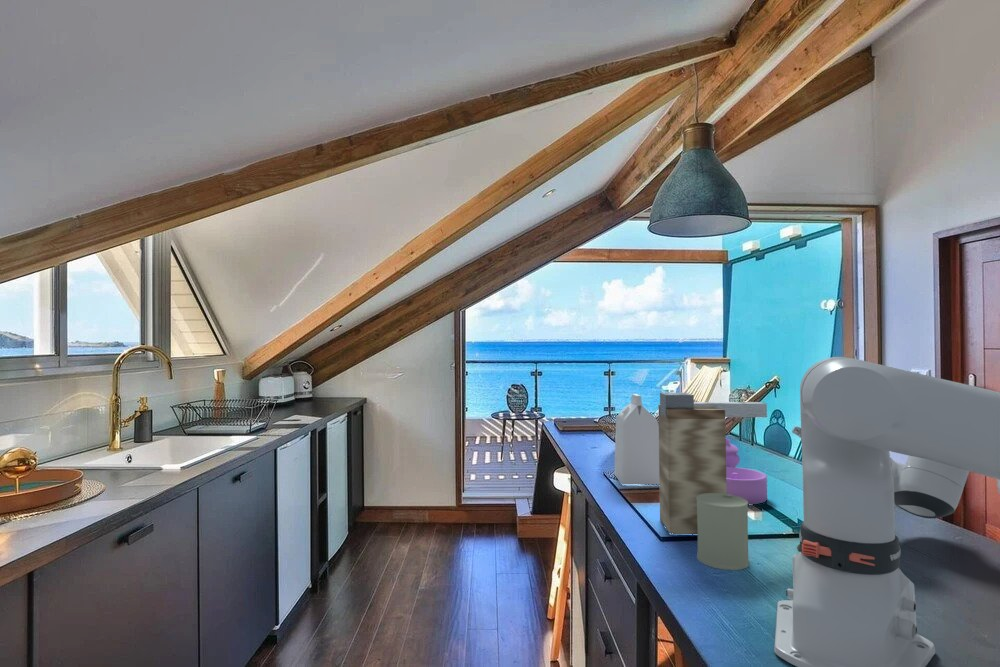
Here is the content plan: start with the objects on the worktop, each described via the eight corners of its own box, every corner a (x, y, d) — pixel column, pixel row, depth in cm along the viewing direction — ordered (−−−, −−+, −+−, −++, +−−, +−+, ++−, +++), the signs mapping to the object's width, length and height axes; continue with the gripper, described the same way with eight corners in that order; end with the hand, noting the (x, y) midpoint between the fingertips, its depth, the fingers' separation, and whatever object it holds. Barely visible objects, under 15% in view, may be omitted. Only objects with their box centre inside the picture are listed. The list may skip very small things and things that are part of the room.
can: (756, 559, 101) (755, 496, 101) (739, 575, 94) (738, 507, 95) (708, 547, 107) (707, 487, 108) (688, 561, 101) (688, 497, 101)
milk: (662, 486, 154) (661, 396, 155) (622, 486, 155) (621, 396, 155) (651, 476, 166) (650, 393, 167) (614, 476, 167) (613, 393, 167)
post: (712, 521, 123) (710, 404, 124) (727, 536, 113) (725, 409, 114) (660, 520, 124) (658, 404, 125) (669, 535, 114) (667, 409, 115)
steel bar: (758, 414, 121) (758, 392, 121) (769, 418, 115) (769, 395, 115) (660, 414, 123) (659, 392, 123) (665, 417, 117) (665, 394, 117)
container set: (774, 507, 134) (773, 454, 134) (709, 503, 137) (708, 452, 138) (751, 482, 158) (751, 438, 158) (697, 479, 162) (697, 436, 162)
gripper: (884, 490, 106) (820, 454, 107) (831, 466, 126) (777, 437, 127) (901, 463, 105) (836, 427, 107) (844, 443, 126) (791, 414, 127)
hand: (804, 432), depth 117 cm, fingers open, 8 cm apart
